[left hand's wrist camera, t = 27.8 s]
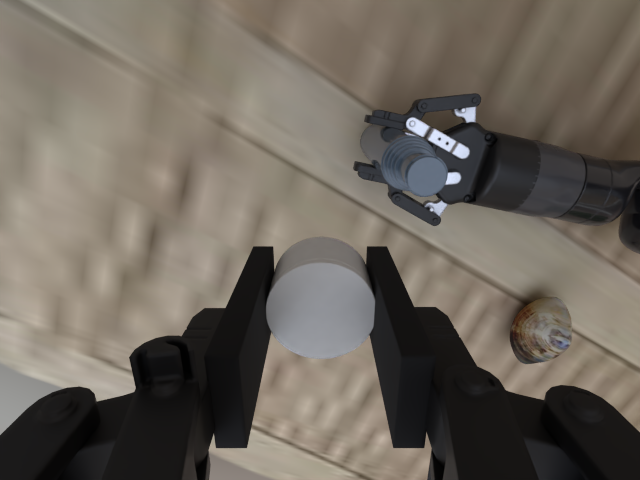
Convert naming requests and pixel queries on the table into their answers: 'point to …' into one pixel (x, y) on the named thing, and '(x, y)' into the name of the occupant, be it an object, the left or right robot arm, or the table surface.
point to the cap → (321, 299)
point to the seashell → (541, 331)
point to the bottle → (404, 160)
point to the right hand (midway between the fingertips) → (360, 143)
